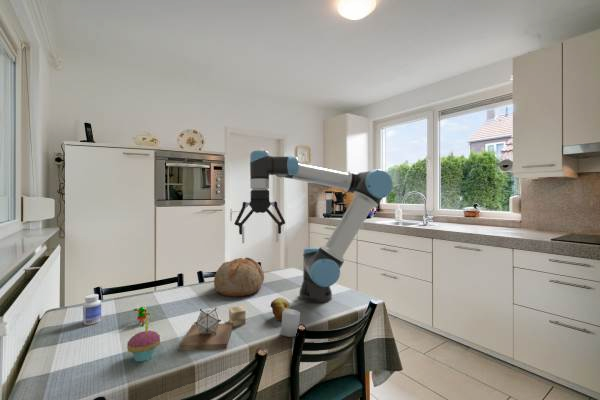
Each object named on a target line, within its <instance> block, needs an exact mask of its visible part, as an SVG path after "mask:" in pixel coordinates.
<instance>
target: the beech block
mask: <svg viewBox="0 0 600 400" xmlns="http://www.w3.org/2000/svg"><path fill="white" fill-rule="evenodd" d="M246 315H247V314H246V309H245V308H244V306H243V305H239V306H232V307H229V308H228V323H233V327H236V326H242V325H246Z"/></svg>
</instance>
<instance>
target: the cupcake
mask: <svg viewBox="0 0 600 400" xmlns="http://www.w3.org/2000/svg"><path fill="white" fill-rule="evenodd" d="M146 313H147V315H146V319H145V325H144V327H145V328H144V330H143V331H139V332H137V333H136V334H134V335H133V336H131V338H130V339H129V340H128V341H127V351H128V352H129V353H131V354H132V356H133V358H134V360H135V362H139V363H141V362H146V361H148V360H150V359H151V358H152V357H154V354H155V351H156V348H157V346H159V345H160V343H161V338H160V337H161V334H159V333H158V332H157V331H153V330H149V328H148V327H149V315H148V313H149V312H146Z"/></svg>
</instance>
